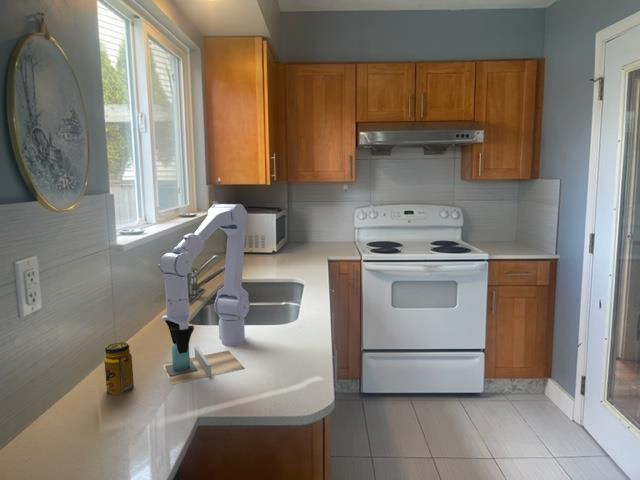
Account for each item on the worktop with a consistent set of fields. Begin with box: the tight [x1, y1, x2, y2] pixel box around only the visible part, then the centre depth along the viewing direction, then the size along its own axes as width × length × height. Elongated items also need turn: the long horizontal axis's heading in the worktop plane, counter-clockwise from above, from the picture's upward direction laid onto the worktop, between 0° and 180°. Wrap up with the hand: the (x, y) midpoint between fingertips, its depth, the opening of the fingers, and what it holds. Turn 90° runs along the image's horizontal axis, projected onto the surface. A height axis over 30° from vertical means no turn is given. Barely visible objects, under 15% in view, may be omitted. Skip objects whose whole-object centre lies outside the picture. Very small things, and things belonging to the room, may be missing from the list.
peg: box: [171, 344, 191, 371], centre depth 119 cm, size 4×4×6 cm
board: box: [161, 349, 246, 386], centre depth 121 cm, size 15×19×1 cm
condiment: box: [103, 341, 135, 396], centre depth 108 cm, size 7×8×12 cm
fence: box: [194, 346, 212, 378], centre depth 121 cm, size 15×1×3 cm, turn 28°
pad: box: [165, 361, 197, 377], centre depth 119 cm, size 7×7×1 cm
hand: (180, 347), depth 118 cm, fingers open, 7 cm apart
